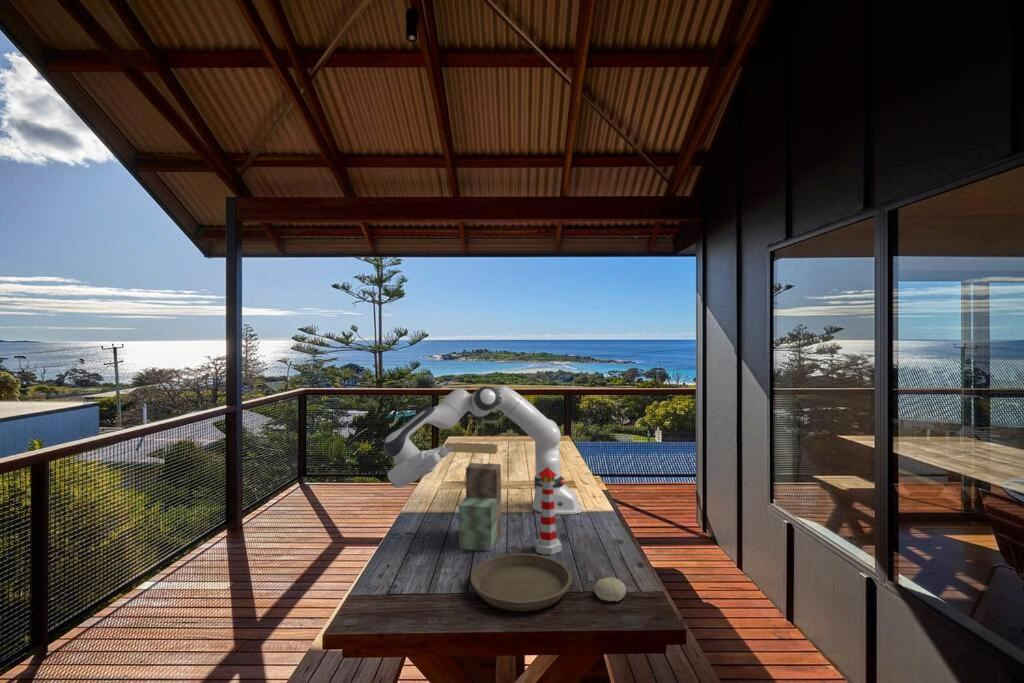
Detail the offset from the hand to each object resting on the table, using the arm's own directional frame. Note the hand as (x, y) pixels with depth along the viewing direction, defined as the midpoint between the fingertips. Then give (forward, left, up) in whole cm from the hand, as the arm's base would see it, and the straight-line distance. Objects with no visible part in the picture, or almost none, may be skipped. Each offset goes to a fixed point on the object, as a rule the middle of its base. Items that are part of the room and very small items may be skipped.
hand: (454, 446), depth 199 cm
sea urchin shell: (-59, +36, -35) cm, 78 cm away
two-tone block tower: (-11, +2, -35) cm, 37 cm away
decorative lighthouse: (-37, +6, -35) cm, 51 cm away
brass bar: (-7, 0, -2) cm, 7 cm away
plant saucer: (-32, +36, -36) cm, 60 cm away
